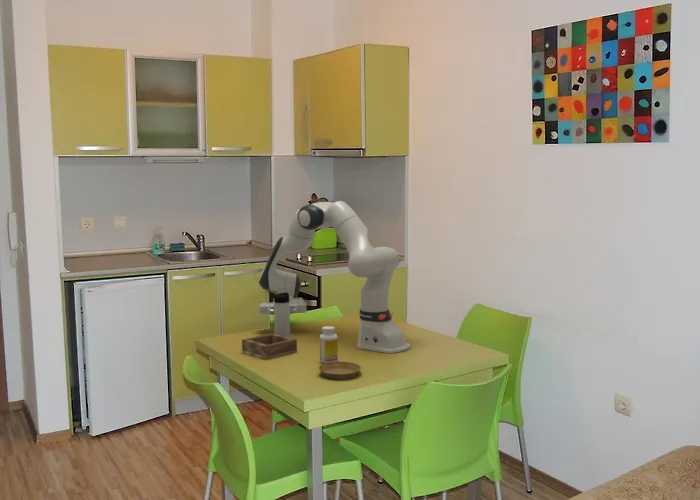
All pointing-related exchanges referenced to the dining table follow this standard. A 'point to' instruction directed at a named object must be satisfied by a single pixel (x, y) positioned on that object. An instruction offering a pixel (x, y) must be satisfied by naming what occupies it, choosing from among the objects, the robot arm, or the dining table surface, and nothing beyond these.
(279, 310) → the travel mug
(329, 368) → the plant saucer
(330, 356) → the supplement bottle
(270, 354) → the square wooden tray
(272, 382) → the dining table surface
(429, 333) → the dining table surface
